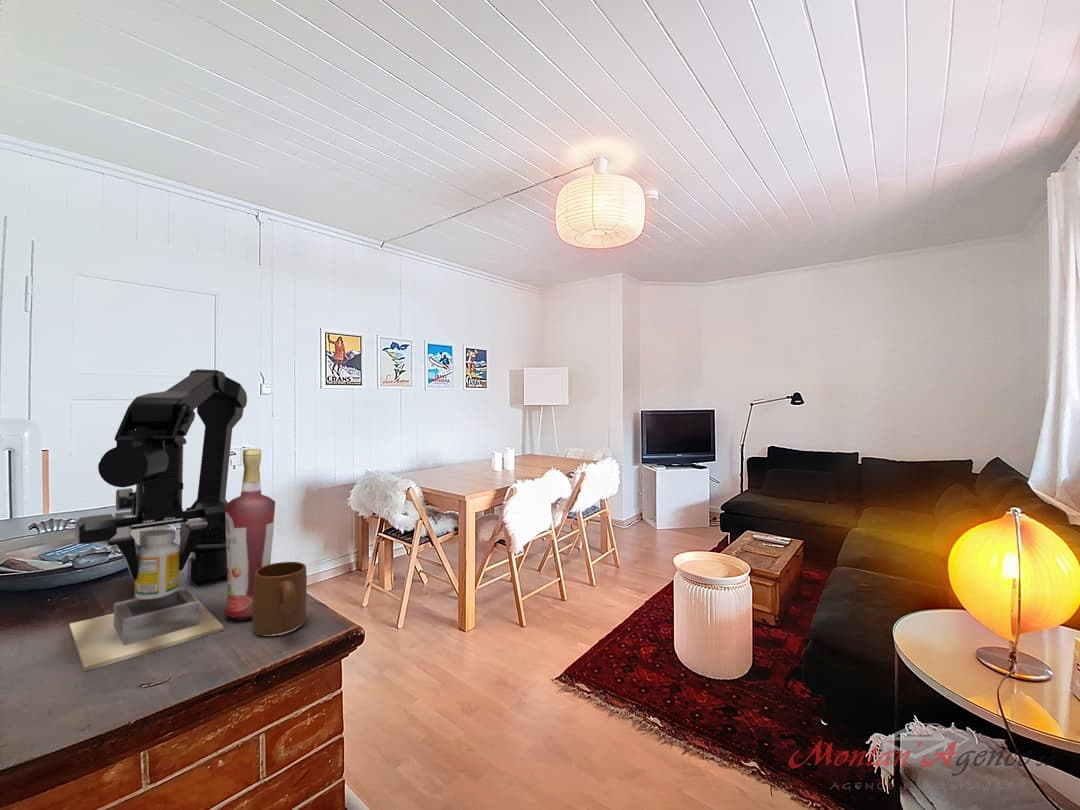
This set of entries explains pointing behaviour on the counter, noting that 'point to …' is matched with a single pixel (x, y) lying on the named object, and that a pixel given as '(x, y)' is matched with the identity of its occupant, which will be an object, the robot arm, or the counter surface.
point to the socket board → (141, 628)
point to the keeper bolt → (135, 533)
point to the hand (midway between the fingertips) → (158, 574)
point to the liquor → (247, 537)
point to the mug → (279, 597)
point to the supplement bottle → (157, 565)
